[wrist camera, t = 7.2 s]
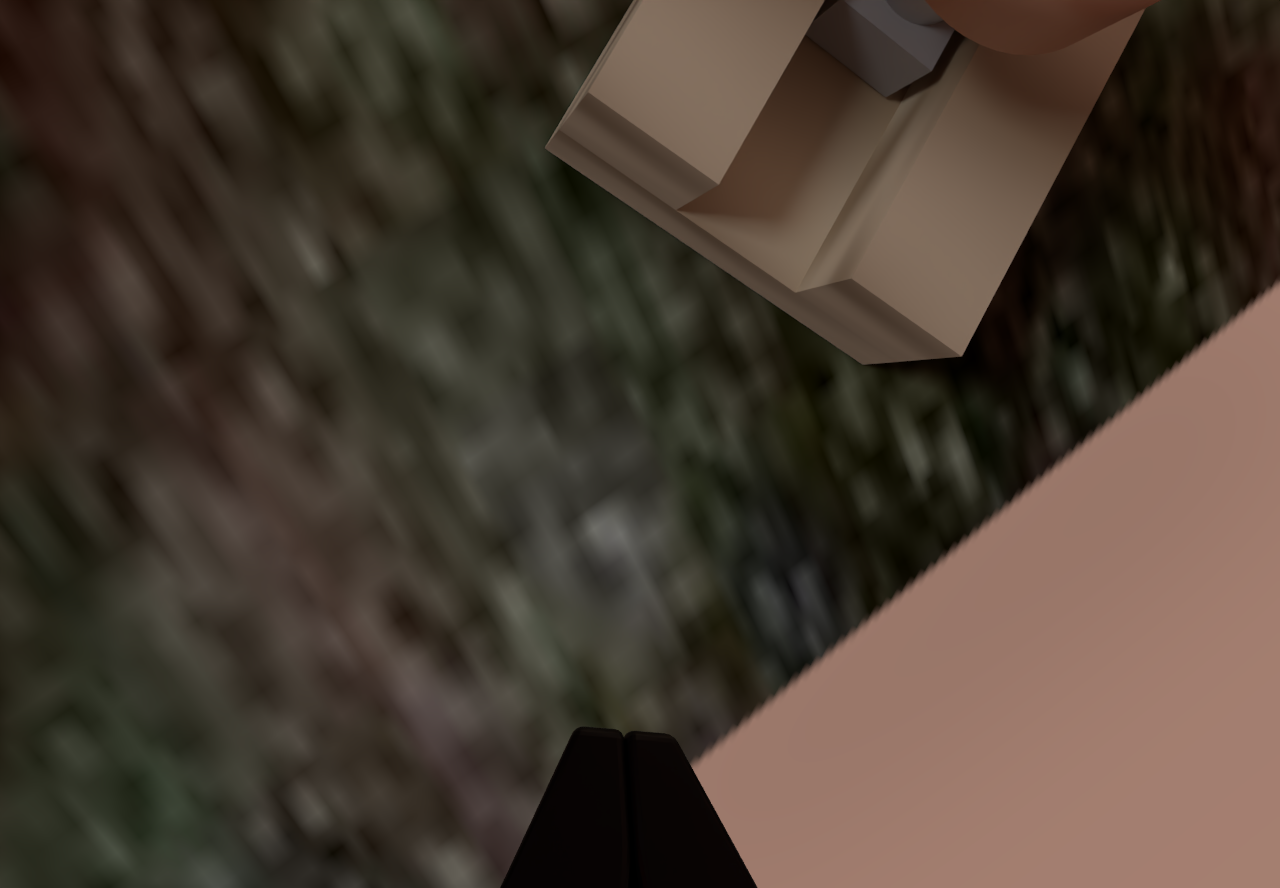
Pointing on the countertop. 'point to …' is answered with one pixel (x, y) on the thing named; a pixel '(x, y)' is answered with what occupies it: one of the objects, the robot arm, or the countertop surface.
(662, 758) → the robot arm
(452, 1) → the countertop surface
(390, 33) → the countertop surface
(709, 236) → the knob track
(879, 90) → the knob
